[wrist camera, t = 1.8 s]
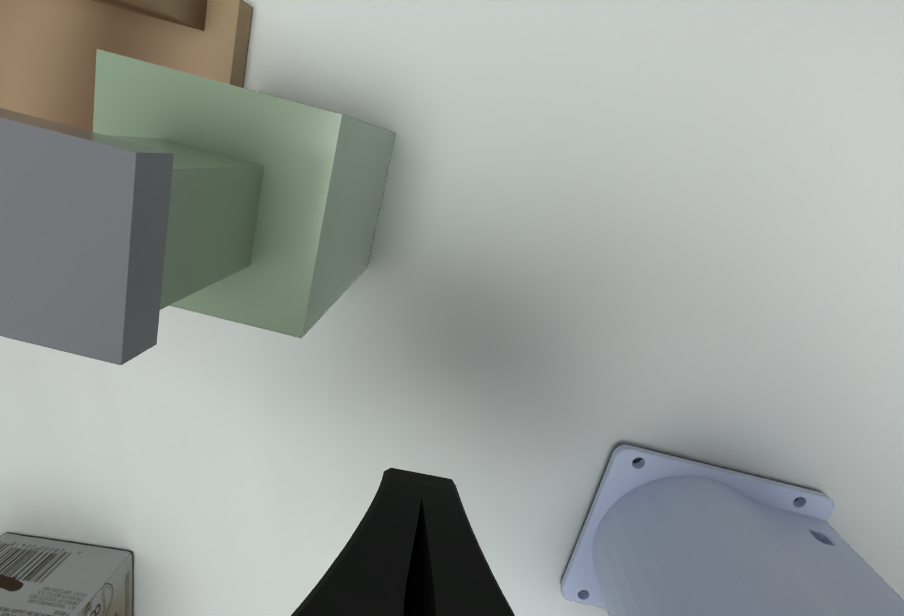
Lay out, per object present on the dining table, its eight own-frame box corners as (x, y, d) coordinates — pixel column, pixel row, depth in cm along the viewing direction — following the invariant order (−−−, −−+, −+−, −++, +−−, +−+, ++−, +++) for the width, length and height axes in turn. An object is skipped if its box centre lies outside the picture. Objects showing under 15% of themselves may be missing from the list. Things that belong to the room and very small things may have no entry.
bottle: (395, 133, 18) (240, 78, 6) (367, 267, 19) (193, 454, 7) (256, 95, 18) (-213, -43, 6) (238, 234, 19) (-169, 368, 7)
